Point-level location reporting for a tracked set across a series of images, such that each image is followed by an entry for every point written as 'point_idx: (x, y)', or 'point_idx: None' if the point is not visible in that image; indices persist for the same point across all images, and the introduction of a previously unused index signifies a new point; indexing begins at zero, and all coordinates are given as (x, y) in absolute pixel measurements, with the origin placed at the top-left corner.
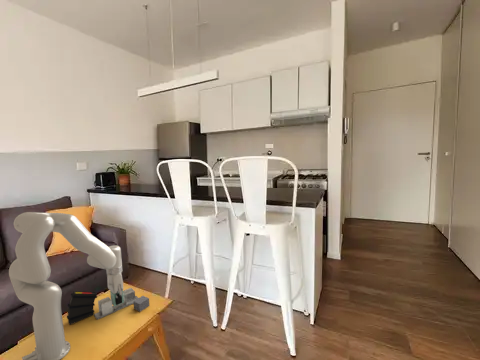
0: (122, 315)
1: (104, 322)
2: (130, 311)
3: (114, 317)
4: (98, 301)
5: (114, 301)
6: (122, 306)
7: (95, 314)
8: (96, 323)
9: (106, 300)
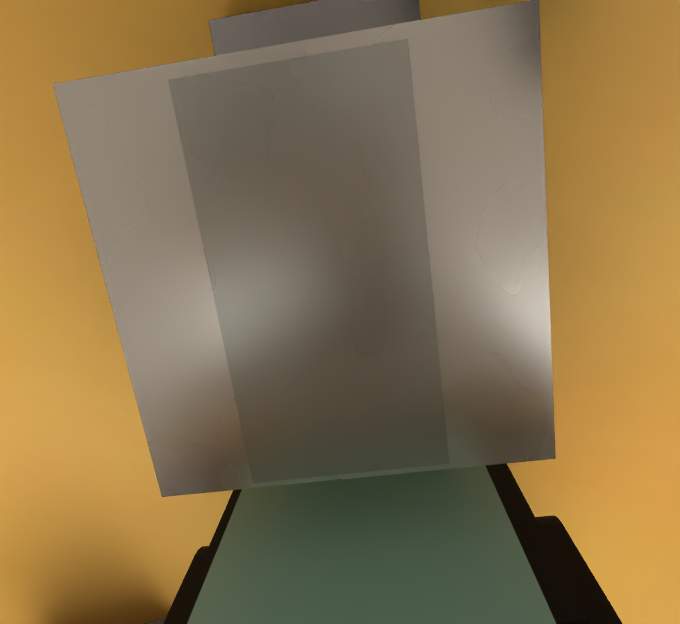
0: (98, 443)
1: (58, 151)
2: (138, 560)
3: (115, 329)
4: (473, 13)
5: (245, 514)
6: None
7: (380, 13)
8: (109, 6)
9: (264, 343)
